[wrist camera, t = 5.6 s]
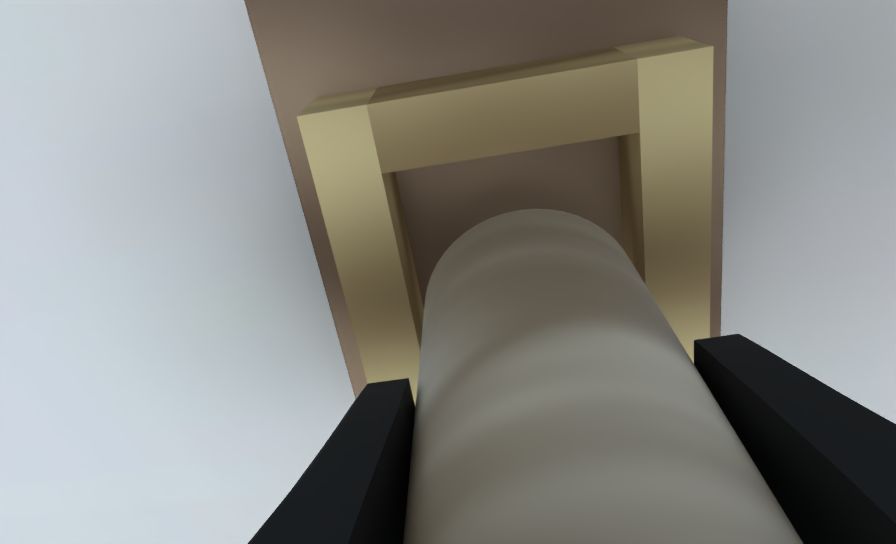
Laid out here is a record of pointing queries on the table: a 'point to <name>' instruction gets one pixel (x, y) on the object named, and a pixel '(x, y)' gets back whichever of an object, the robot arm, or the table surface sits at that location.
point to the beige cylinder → (568, 404)
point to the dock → (497, 144)
